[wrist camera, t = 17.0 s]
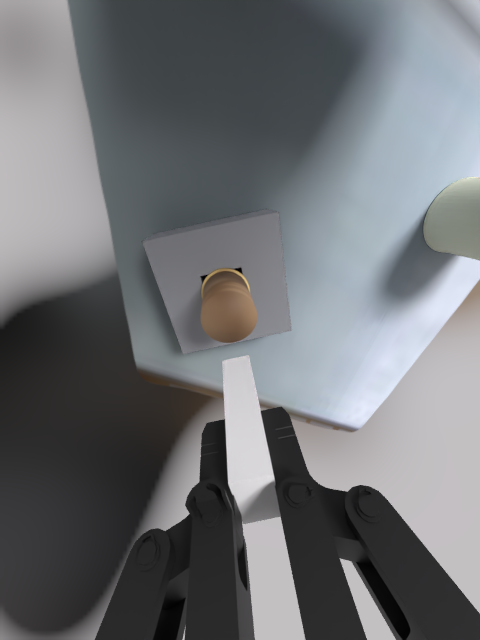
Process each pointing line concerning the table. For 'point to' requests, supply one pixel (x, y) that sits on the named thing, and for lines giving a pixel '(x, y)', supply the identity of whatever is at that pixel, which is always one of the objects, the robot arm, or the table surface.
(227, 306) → the walnut peg
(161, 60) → the table surface
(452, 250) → the can
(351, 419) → the table surface
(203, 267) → the socket block
